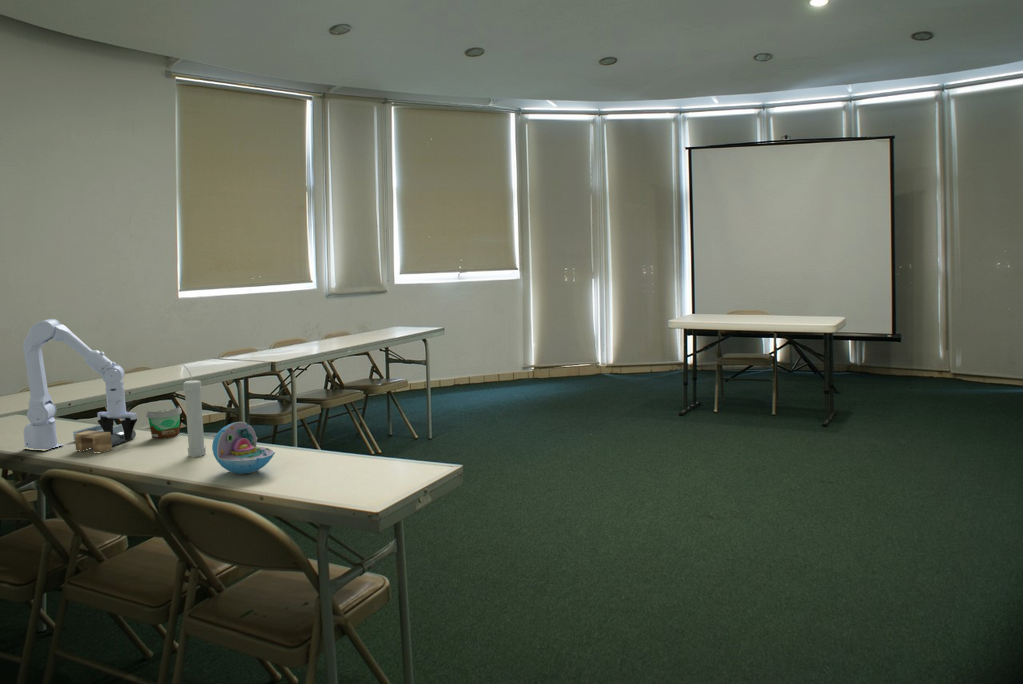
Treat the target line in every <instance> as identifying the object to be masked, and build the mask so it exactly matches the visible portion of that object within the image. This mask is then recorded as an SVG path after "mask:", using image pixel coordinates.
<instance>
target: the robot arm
mask: <svg viewBox="0 0 1023 684" xmlns="http://www.w3.org/2000/svg"><path fill="white" fill-rule="evenodd" d="M50 340H52V341H53V342H61V343H62V342H63V343H65V344H66V345H68V346H69V348H72V349H73V350H74V351H76V352H77V353H78V354H79V355H80V356H82V357H83V359H84V363H85V364H86V365H87V366H88V367H90V368H91V369H92V370H93V371H94V372H96V373H97V374H98V375H100V376H101V379H102V381H103V382H104V383H105V397H106V398H105V399H106V409H107V411H99V412H97V413H96V414H97V418H98V420H97V423H98V425H101V427H102V428H103V430H104V432H111V434H113V426H114V421H115V419H119V420H120V419H122V420H120V424H122V427H123V430H124V437H125V440H129V439H131V436H132V431H133V429H134V428H135V426H136V423H137V422H138V415H137V414H138V413H137V412H130V411H127V406H126V405H127V404H126V396H125V395H126V394H125V393H126V392H125V385H124V378H125V370H124V368H123V367H122V366H121V365H120V364H117V363H116V362H115V361H112V360H111V359H109V358H108V357H107V356H106V355H105V352H104V351H100V350H98V349H96V350H95V349H94V350H93V349H91V348H90V347H89V346H88V345H87V344H85V343H84V342H83V341H82V340H81V339H80V338H79V337H78V336H77V335H76V334H75V333H74V332H73V331H71V330H70V329H69V328H68V327H67V326H66V325H64V324H63V323H61V322H60V321H59V320H58V319H55V318H47V319H44V320H40V321H37V322H35V323H34V324H33V325H31V327H29V331H28V332H27V335H26V337H25V338H24V341H23V342H22V350H23V356H24V363H25V368H26V369H25V370H26V375H27V382H28V383H27V384H28V388H29V395H30V397H29V401H28V410H27V413H26V418H27V420H28V421H29V422H28V423H26V424H25V426H24V428H23V440H24V448H25V447H28V448H33V449H51V448H55V447H58V448H60V447H59V446H62V445H64V446H65V444H63V443H61V444H60V443H58V436H57V425H56V424H57V423H56V419H55V415H56V414H57V406H56V405H55V404H54V402H53V399H52V396H51V394H50V393H49V389H48V381H47V377H46V376H47V375H46V369H45V362H44V355H43V350H42V348H43V347H44V346H45V345H46V344H47V343H48V342H49V341H50ZM131 440H132V439H131ZM129 441H130V440H129ZM62 447H63V446H62ZM55 449H56V448H55ZM51 450H52V449H51Z"/></svg>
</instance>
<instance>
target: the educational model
mask: <svg viewBox="0 0 1023 684" xmlns="http://www.w3.org/2000/svg"><path fill="white" fill-rule="evenodd" d="M256 435H257V434H256V432H255V430H254V428H253V427H252V426H251V425H250V424H248V423H247V422H245V421H236V422H232V423H230V424H227V425H226V426H223V427H222V428H221V429H220V430H219V431H218V432H217V434H216V435H215V436H214V438H213V439H212V440H213V441H212V443H211V444H212V447H211V449H212V454H213V457H214V458H215V460H216V462H217V463H218V464H219V465H220V466H221V467H222V468H223V469H224V470H226V471H228V472H230V473H233V474H239V475H240V474H242V475H244V474H245V473H246V474H251V473H254V472H257V471H259V470H261V469H262V468H264V467H265V466H266V465H267V464H269V462H270V461H271V460H272V459H273V457H274V455H275V454H276V451H274V450H273V449H271V448H269V447H264V446H257V443H258V437H257V436H256Z"/></svg>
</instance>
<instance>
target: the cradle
mask: <svg viewBox="0 0 1023 684" xmlns="http://www.w3.org/2000/svg"><path fill="white" fill-rule="evenodd" d="M84 431H101V432H104V430H103V428H102V427H101V425H100V424H97V425H93V426H89V427H85V428H82V429H79V430H78V429H77V430H74V431H72V433H73V441H74V440H75V434H76V433H80V432H84ZM120 431H123V427H122V424H121V423H120V424H116V425H113V434H114V433H117V432H120Z"/></svg>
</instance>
